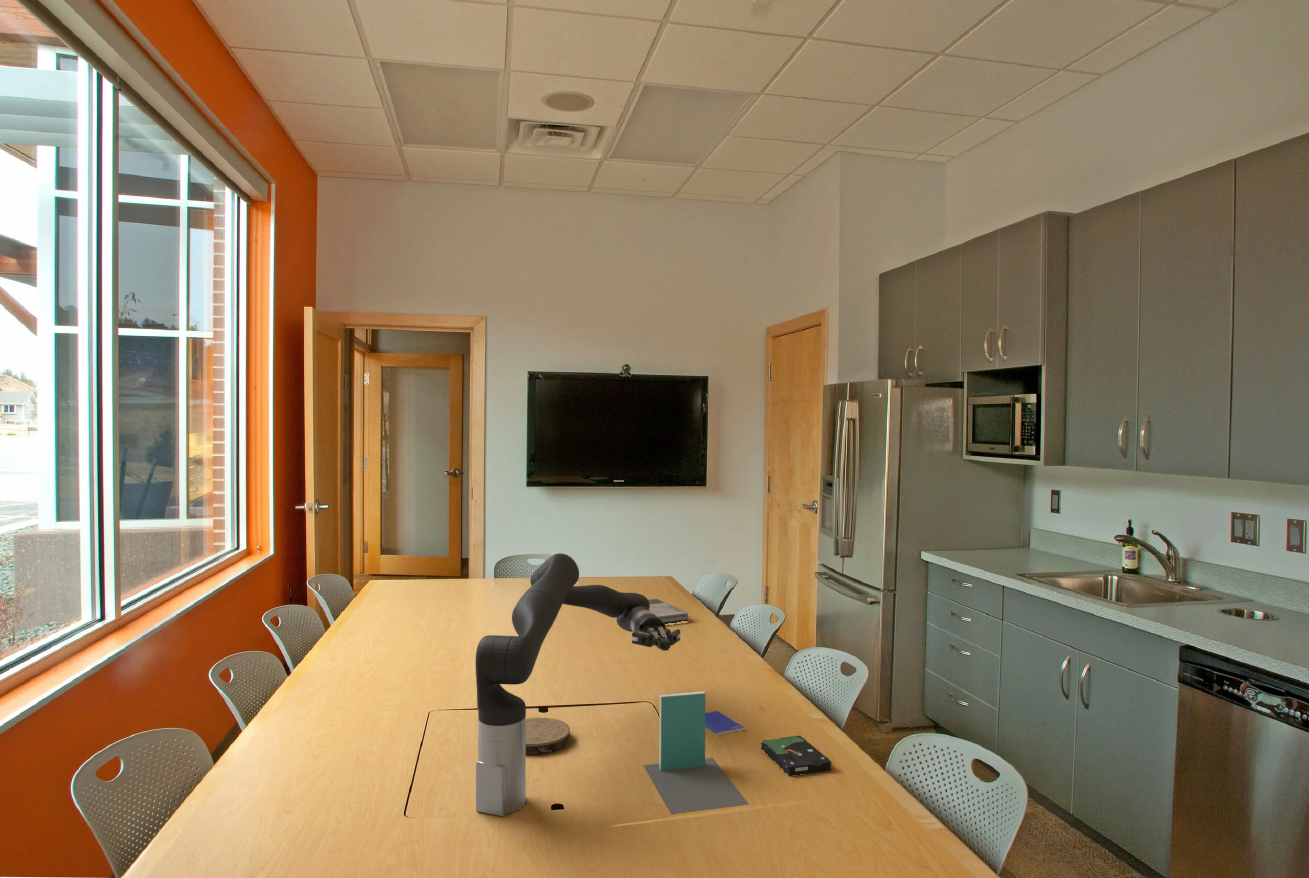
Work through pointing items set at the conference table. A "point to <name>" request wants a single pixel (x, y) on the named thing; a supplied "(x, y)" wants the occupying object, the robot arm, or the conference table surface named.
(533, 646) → the robot arm
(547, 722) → the brown round disc
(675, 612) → the hard drive
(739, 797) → the mat
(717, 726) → the hard drive
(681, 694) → the tile
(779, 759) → the disk drive
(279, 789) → the conference table surface
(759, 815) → the conference table surface
